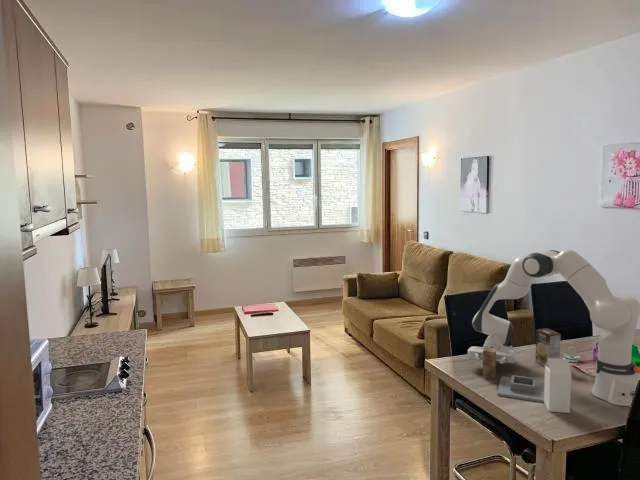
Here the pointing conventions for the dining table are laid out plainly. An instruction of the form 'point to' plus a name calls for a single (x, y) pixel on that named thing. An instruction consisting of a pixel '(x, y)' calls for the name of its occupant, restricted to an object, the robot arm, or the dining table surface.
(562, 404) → the milk carton
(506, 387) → the socket base
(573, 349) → the pacifier
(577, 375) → the dining table surface
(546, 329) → the coffee box
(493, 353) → the walnut block
